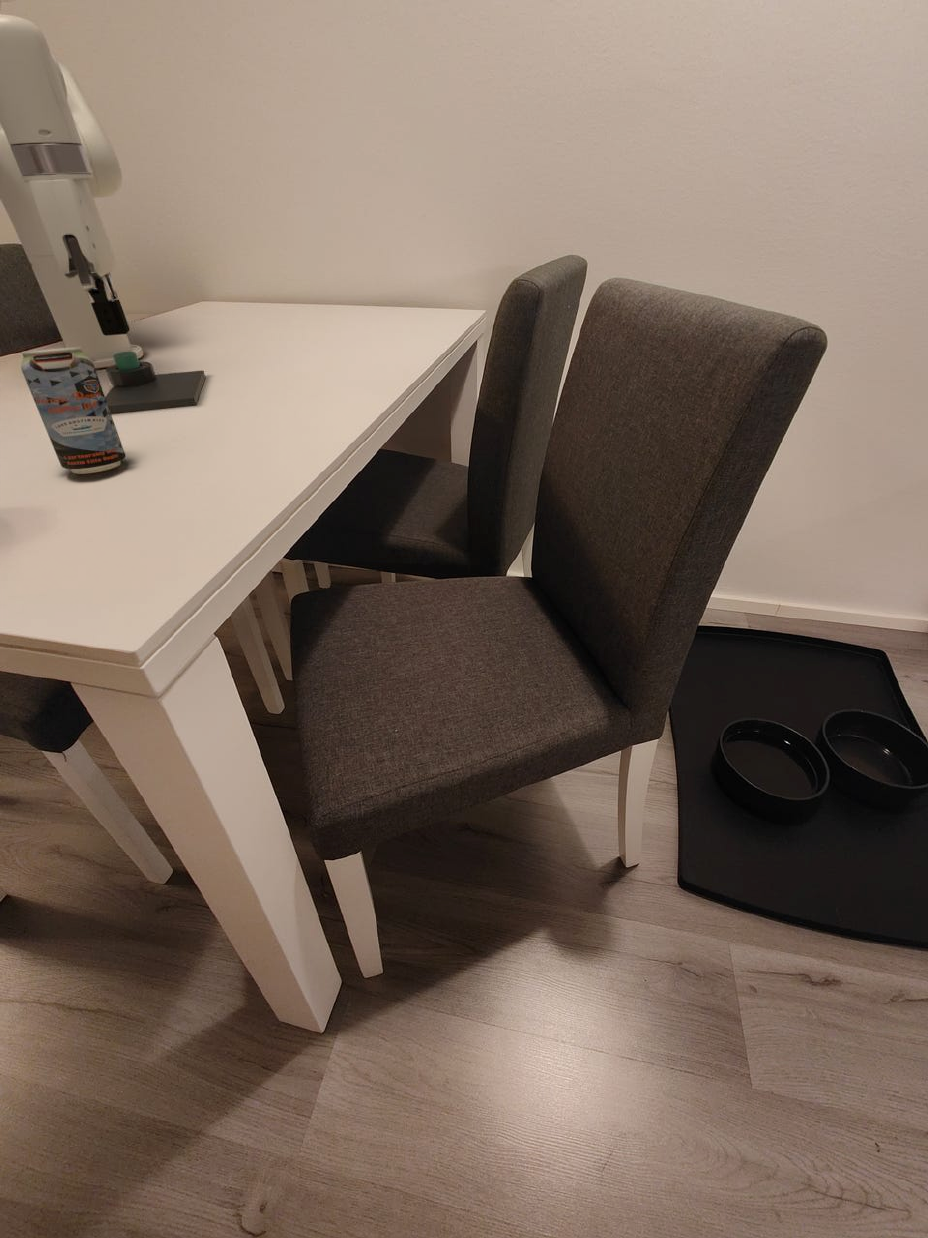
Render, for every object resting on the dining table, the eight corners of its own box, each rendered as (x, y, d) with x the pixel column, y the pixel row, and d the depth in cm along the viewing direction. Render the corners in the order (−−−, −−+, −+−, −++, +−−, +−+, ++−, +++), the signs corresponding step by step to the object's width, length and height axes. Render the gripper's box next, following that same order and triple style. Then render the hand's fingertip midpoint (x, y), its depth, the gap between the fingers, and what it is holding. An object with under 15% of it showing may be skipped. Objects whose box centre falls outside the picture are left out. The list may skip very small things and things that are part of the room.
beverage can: (63, 486, 57) (0, 360, 50) (71, 460, 63) (15, 343, 55) (131, 474, 59) (80, 352, 52) (132, 450, 65) (86, 335, 57)
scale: (119, 384, 86) (111, 363, 84) (205, 376, 88) (199, 355, 86) (96, 415, 75) (87, 391, 73) (196, 405, 77) (189, 382, 75)
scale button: (120, 367, 83) (115, 352, 82) (142, 365, 84) (137, 350, 82) (116, 372, 81) (110, 357, 80) (139, 370, 81) (133, 355, 80)
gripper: (40, 168, 73) (100, 325, 84) (-4, 164, 61) (73, 347, 73) (103, 166, 74) (154, 321, 85) (71, 162, 63) (135, 342, 74)
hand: (117, 333), depth 79 cm, fingers closed
